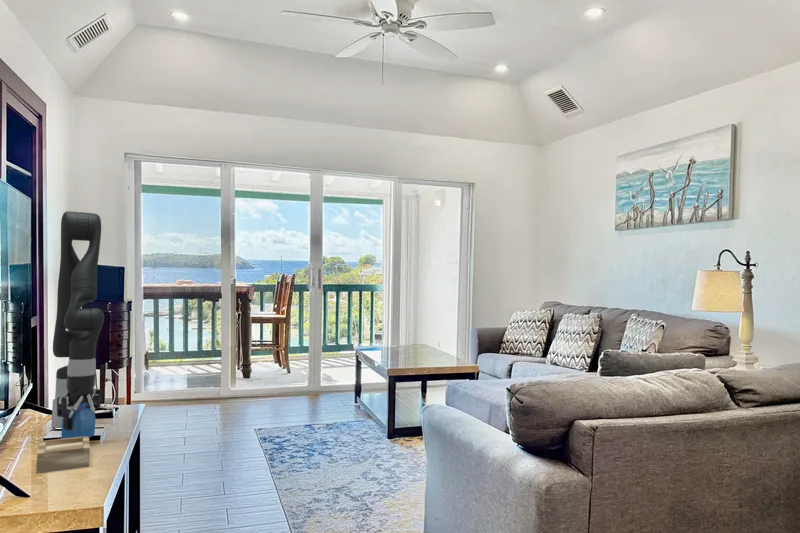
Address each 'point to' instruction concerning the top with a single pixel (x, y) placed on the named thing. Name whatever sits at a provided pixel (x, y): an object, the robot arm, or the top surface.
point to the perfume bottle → (80, 423)
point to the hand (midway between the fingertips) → (78, 426)
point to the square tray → (63, 454)
